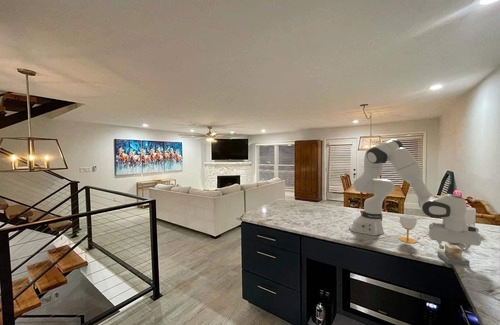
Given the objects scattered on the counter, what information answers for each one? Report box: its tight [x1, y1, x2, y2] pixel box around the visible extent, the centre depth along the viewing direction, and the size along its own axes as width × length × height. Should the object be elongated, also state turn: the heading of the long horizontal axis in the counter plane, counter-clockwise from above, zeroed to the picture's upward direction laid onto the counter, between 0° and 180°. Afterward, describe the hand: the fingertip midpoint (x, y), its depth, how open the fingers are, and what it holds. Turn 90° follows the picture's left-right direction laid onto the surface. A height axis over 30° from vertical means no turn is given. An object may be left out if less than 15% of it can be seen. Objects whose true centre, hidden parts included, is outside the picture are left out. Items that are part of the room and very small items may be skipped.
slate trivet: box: [437, 250, 470, 267], centre depth 112 cm, size 9×9×3 cm
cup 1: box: [398, 214, 418, 244], centre depth 137 cm, size 9×9×16 cm
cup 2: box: [465, 206, 477, 227], centre depth 152 cm, size 8×8×16 cm
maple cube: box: [444, 243, 463, 259], centre depth 112 cm, size 5×5×5 cm
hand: (452, 250), depth 112 cm, fingers open, 8 cm apart
